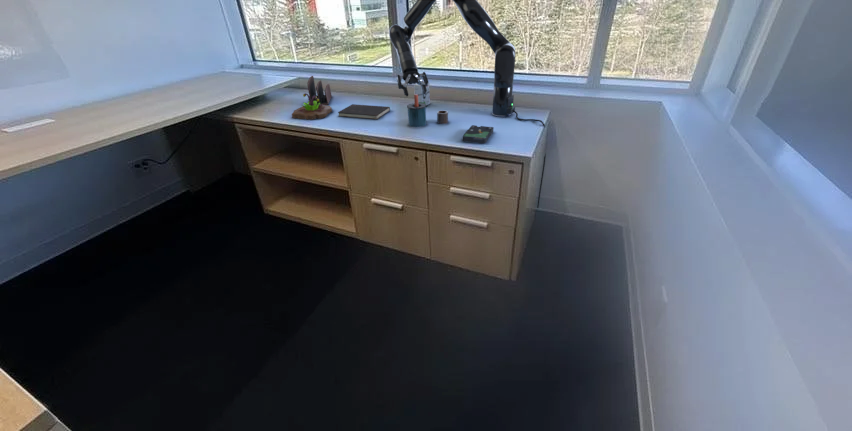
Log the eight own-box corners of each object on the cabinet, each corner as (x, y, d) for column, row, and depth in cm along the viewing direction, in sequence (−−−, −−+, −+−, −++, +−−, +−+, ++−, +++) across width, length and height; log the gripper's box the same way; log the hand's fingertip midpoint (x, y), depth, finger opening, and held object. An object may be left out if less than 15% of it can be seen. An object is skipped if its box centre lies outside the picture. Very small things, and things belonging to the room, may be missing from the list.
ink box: (422, 107, 208) (421, 85, 202) (414, 106, 211) (413, 84, 204) (430, 103, 214) (429, 82, 208) (423, 102, 217) (422, 81, 211)
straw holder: (450, 122, 185) (450, 111, 182) (444, 125, 182) (443, 114, 179) (441, 120, 188) (441, 109, 185) (435, 123, 184) (435, 112, 182)
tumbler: (429, 123, 185) (429, 105, 180) (419, 129, 179) (418, 110, 174) (416, 121, 189) (415, 103, 184) (405, 126, 183) (403, 107, 178)
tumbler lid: (430, 105, 180) (430, 104, 180) (418, 110, 174) (418, 109, 173) (415, 102, 185) (414, 101, 184) (403, 107, 178) (402, 106, 178)
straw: (420, 123, 184) (418, 94, 176) (417, 124, 183) (416, 95, 175) (417, 123, 185) (415, 93, 177) (415, 124, 183) (413, 94, 176)
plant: (304, 108, 217) (300, 88, 211) (336, 109, 213) (333, 88, 207) (287, 119, 200) (282, 98, 194) (321, 120, 196) (317, 98, 190)
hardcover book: (377, 119, 193) (376, 115, 192) (338, 116, 201) (337, 112, 199) (390, 110, 206) (389, 106, 205) (353, 108, 213) (352, 103, 212)
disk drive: (471, 130, 174) (462, 141, 163) (471, 124, 173) (462, 135, 161) (493, 132, 171) (485, 144, 159) (493, 126, 169) (486, 137, 158)
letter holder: (311, 106, 219) (306, 81, 212) (315, 97, 236) (311, 74, 229) (328, 105, 220) (324, 80, 213) (331, 96, 237) (327, 73, 229)
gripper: (394, 60, 173) (402, 91, 170) (423, 57, 177) (432, 88, 174) (392, 70, 181) (400, 100, 177) (420, 67, 184) (429, 97, 181)
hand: (416, 94), depth 176 cm, fingers open, 8 cm apart
